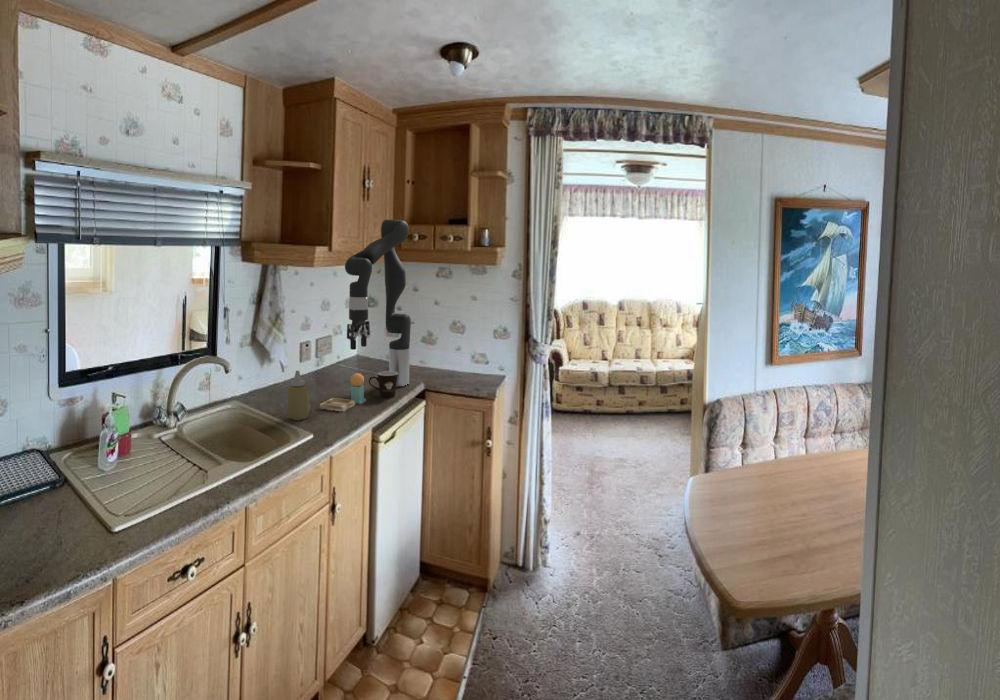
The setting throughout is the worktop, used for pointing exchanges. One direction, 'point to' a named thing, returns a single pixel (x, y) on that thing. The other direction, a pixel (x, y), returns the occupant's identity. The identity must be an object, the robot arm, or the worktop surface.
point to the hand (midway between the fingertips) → (358, 347)
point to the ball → (357, 380)
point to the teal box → (358, 394)
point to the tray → (337, 404)
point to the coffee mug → (386, 383)
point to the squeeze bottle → (298, 399)
